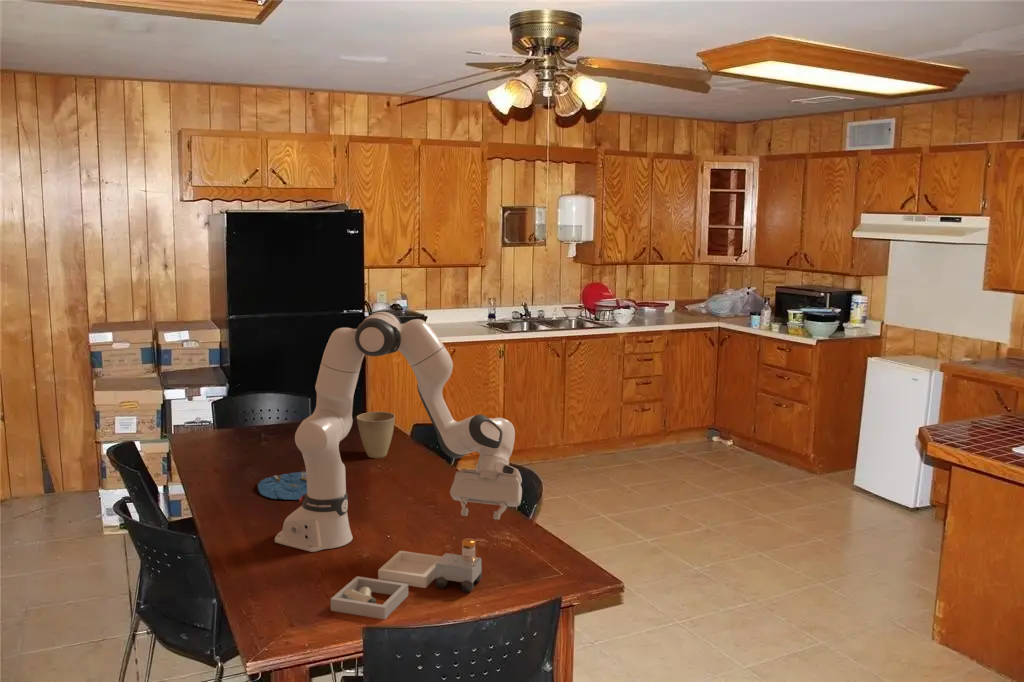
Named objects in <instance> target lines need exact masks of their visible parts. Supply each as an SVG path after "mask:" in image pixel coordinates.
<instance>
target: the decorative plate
mask: <svg viewBox="0 0 1024 682" xmlns="http://www.w3.org/2000/svg"><path fill="white" fill-rule="evenodd" d="M257 489H258V493H259V494H260V495H262V496H263V497H266V498H270V499H272V500H274V499H275V500H282V499H283V501H288V500H291V501H292V500H294V501H297V500H298V501H299V500H300V499H299V498H300V497H302V496H303V495H304V494H306V493H307V476H306V471H299V472H298V471H297V472H296V471H294V472H289V473H284V474H283V473H282V474H280V475H276V474H275V475H274V474H273V476H270V477H266V478H264V479H261V480H260V481H259V483H258V484H257Z"/></svg>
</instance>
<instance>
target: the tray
mask: <svg viewBox="0 0 1024 682" xmlns="http://www.w3.org/2000/svg"><path fill="white" fill-rule="evenodd" d="M442 556H443V555H434V554H427V553H422V552H420V553H419V552H414V551H412V552H411V551H405V550H398V552H397V553H395V554H394V555H393V556H392V557H391V558H389V560H388V561H387V562H385V563H384V564H383V565H382V566H381V567H379V569H378V570H377V575H378V576H377V579H378V580H385V581H392V582H398V583H405V584H408V587H410V586H411V587H416V588H421V589H422V588H423V589H426V588H427V587H428V586H429V585H430V584H431V583H432V582H433V581H434V580H436V579H437V578H436V562H437V561H438V560H439V559H440V558H441V557H442Z"/></svg>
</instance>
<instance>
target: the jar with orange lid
mask: <svg viewBox="0 0 1024 682" xmlns="http://www.w3.org/2000/svg"><path fill="white" fill-rule="evenodd" d="M461 542H462V543H461V545H462V546H461V552H462V553H461V555H464V556H471V557H476V539H475V538H472V537H469V538H468V537H467V538H464V539H462V541H461Z"/></svg>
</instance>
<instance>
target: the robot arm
mask: <svg viewBox="0 0 1024 682" xmlns="http://www.w3.org/2000/svg"><path fill="white" fill-rule="evenodd" d="M396 352H399V353H401V354H402V355H403V357H404V359H406V361H407V363H408V364H409V366H410V368H411V369H412V371H413V373H414V376H415V378H416V381H417V385H416V386H417V392H418V395H419V397H420V400H421V402H422V404H423V406H424V409H425V411H426V412H427V415H428V417H429V420H430V421H431V423H432V426H433V428H434V430H435V432H436V435H437V439H438V442H439V445H440V448H441V450H442V452H443V453H445V455H447V456H448V457H450V458H452V459H461V458H463V457H465V456H467V455H468V454H471V453H474V452H476V453H478V454H479V457H478V461H477V465H476V468H475V469H466V468H463V469H460V470H457V471H456V472H455V475H454V477H453V479H454V480H453V483H452V485H451V486H450V491H449V495H450V496H451V498H452V500H453V501H459V502H460V505H461V511H460V514H461V516H465V517H468V514H469V512H470V511H469V509H468V507H466V505H467V504H468V502H469V503H477V504H485V505H493V506H494V505H495V506H500V507H499V508H498V510H494V511H493V515H492V516H493V517H492V518H493V520H498V521H499V520H500V519H501V515H502V514H503V513H504V512H505V511H506V510H507V508H508V507H511V508H512V507H513V508H518V507H519V506H520V505H521V501H522V497H523V488H522V482H523V479H522V476H521V473H520V471H519V469H517V468H515V467H513V466H511V465H510V463H509V462H510V457H511V456H512V454H513V449H514V446H515V445H514V444H515V440H516V439H515V438H516V431H515V426H514V425H513V423H512V422H511V421H510V420H507V419H505V418H503V417H494V418H490V417H487V415H484V414H475V415H472V416H470V417H469V416H468V417H467V418H465V419H462V420H460V421H457V420H455V419H454V418H453V416H452V414H451V412H450V409H449V408H448V405H447V403H446V401H445V399H444V395H443V389H444V387H445V384H447V382H448V381H449V380H450V379H451V376H452V373H453V369H454V363H453V360H452V357H451V355H450V353H449V352H448V350H447V348H446V346H445V345H444V343H443V341H442V340H441V339H440V337H439V336H438V335H437V334H436V332H435V331H434V330H433V328H431V326H430V325H429V324H428V322H426V321H425V320H424V319H420V318H416V319H415V318H414V319H411V320H409V321H406V322H405V323H404V322H403V323H402V322H401V319H400V318H399V316H398V315H397V314H396V313H394V312H392V311H390V310H384V309H383V310H377V311H375V312H374V313H371V314H370V315H368V316H367V317H365V318H364V319H363V320H362V322H361V323H359V325H358V326H357V328H351V327H339V328H336V329H335V330H334V331H332V332H331V335H330V336H329V338H328V342H327V343H326V346H325V349H324V351H323V355H322V359H321V362H320V365H319V370H318V373H317V378H316V381H315V385H314V388H315V392H316V404H315V405H316V406H315V408H314V411H313V412H312V414H311V415H310V416H308V417H306V418H305V419H303V420H302V421H301V423H300V424H299V426H298V427H297V429H296V431H295V434H294V442H295V445H296V447H297V448H298V450H299V451H300V452H301V454H302V457H303V461H304V466H305V472H306V476H307V493H306V494H304V495H303V496H302V497H300V498H299V499H300V500H298V502H299V503H300V502H302V505H300V506H299V507H298V508H296V510H294V511H293V512H291V513H290V514H289V515H288V516H287V517H286V518H285V519H284V522H283V526H282V530H281V531H279V532H278V533H277V534H276V536H275V537H274V543H277V544H280V545H283V546H287V547H291V548H295V549H299V550H304V551H306V552H311V553H315V552H319V551H322V550H328V549H329V550H330V549H331V550H332V549H336V548H340V547H342V546H346V545H347V544H349V543H351V542H352V540H353V534H352V531H351V527H350V522H349V516H348V507H349V504H348V503H349V501H348V500H349V499H348V491H347V483H346V480H347V478H346V466H345V464H344V462H343V461H342V458H341V453H340V446H339V445H340V442H341V441H343V440H344V439H345V438H346V437H347V436H348V434H349V432H350V431H351V429H352V426H353V422H354V421H353V406H354V395H355V390H356V388H357V384H358V381H359V377H360V376H359V375H360V371H361V368H362V363H363V360H364V357H365V355H366V356H370V357H382V356H385V355H389V354H395V353H396Z"/></svg>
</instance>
